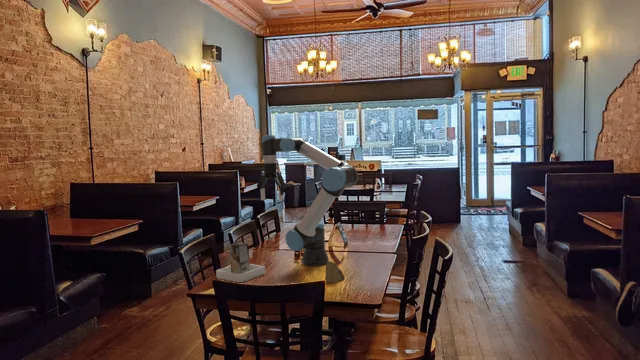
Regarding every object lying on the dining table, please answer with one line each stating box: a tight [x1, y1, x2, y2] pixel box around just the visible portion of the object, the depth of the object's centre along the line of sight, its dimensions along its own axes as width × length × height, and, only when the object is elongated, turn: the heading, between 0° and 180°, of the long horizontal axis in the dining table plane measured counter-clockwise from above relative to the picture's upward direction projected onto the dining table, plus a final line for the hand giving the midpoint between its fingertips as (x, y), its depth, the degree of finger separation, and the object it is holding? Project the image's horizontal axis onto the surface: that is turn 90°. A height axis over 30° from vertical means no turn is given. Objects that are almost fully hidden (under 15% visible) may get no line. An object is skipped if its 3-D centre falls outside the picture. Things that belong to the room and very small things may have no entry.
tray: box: [215, 263, 266, 283], centre depth 250 cm, size 18×18×4 cm
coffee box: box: [228, 241, 251, 274], centre depth 250 cm, size 9×6×16 cm
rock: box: [324, 260, 345, 285], centre depth 233 cm, size 11×9×10 cm
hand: (272, 200), depth 267 cm, fingers open, 13 cm apart
